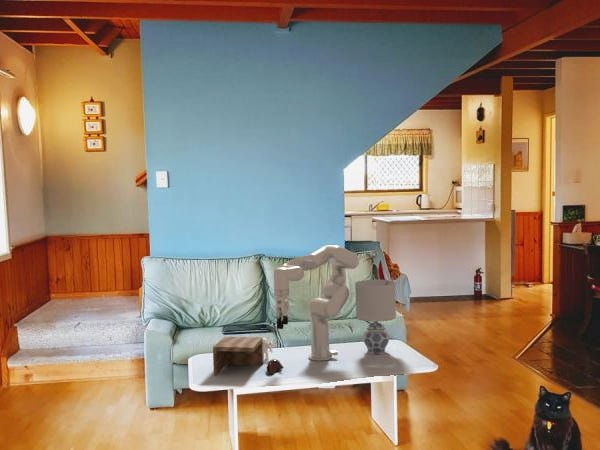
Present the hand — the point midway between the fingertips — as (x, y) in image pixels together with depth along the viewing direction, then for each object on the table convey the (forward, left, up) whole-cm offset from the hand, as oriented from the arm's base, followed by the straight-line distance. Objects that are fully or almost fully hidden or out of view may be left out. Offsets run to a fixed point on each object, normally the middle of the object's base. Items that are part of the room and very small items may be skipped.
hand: (282, 326), depth 290 cm
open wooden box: (+22, +4, -21) cm, 31 cm away
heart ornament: (+4, +6, -22) cm, 23 cm away
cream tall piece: (+13, -15, -21) cm, 29 cm away
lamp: (-45, -33, -21) cm, 60 cm away
